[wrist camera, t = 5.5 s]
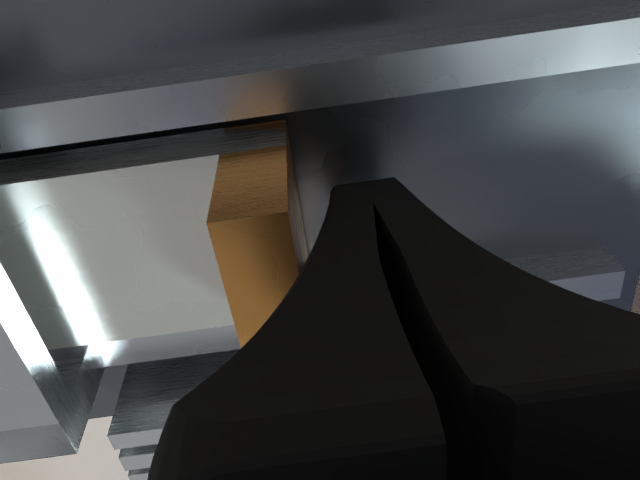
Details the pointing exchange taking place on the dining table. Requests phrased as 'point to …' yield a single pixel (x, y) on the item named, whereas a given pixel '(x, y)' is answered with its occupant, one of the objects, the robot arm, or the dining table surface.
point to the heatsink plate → (326, 151)
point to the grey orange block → (153, 234)
